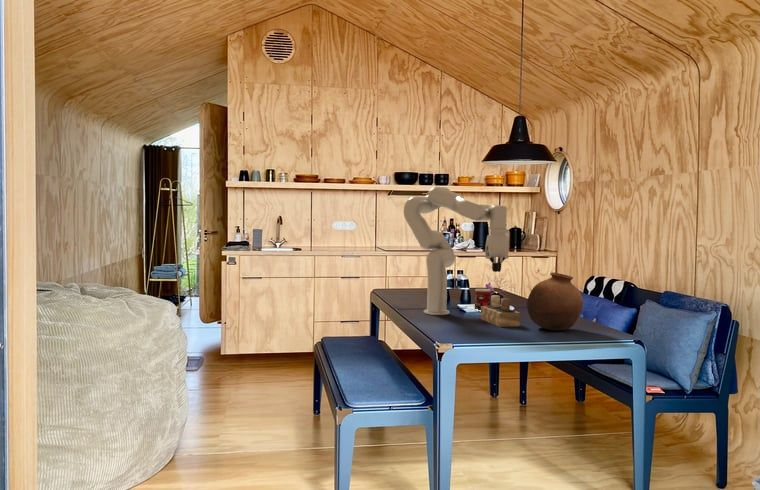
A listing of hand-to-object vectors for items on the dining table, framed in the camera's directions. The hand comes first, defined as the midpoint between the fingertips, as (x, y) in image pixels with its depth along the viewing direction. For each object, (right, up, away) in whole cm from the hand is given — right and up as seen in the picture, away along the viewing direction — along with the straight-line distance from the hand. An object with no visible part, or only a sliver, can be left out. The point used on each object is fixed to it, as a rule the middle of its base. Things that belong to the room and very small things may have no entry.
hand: (496, 271), depth 285 cm
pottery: (+22, -25, -18) cm, 38 cm away
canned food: (-2, -22, +27) cm, 35 cm away
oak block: (+1, -23, -3) cm, 24 cm away
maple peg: (0, -18, +1) cm, 18 cm away
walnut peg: (+2, -19, -8) cm, 20 cm away
